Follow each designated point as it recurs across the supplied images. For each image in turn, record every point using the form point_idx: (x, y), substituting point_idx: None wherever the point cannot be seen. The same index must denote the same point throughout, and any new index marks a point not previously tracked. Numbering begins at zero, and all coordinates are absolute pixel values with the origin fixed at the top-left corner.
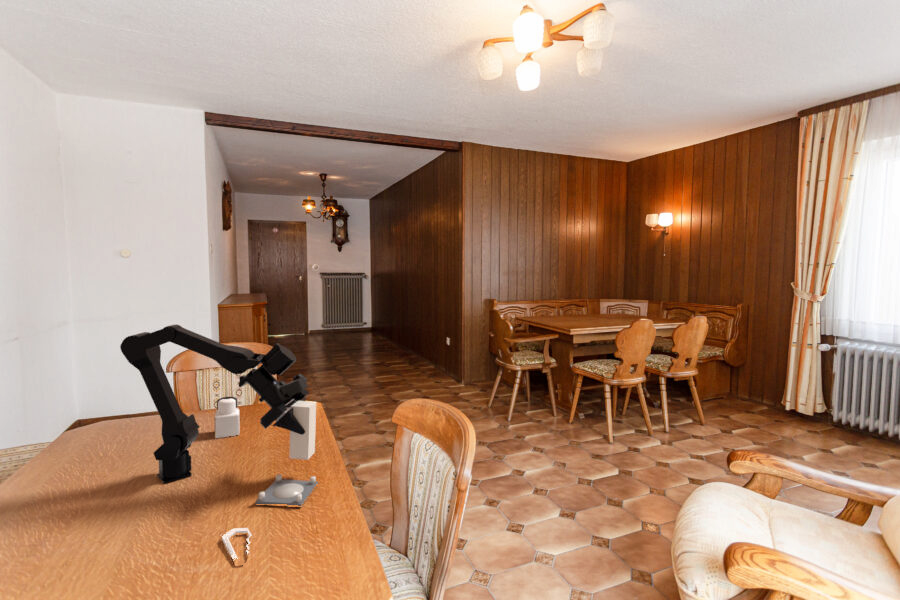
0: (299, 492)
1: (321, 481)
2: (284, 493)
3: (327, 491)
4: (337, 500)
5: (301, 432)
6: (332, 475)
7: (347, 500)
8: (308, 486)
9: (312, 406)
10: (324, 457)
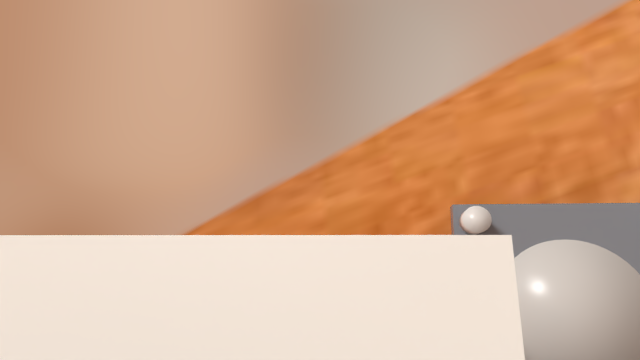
0: (581, 249)
1: (414, 205)
2: (609, 320)
3: (495, 150)
4: (561, 86)
5: None
6: (355, 179)
7: (552, 51)
8: (509, 229)
9: (241, 239)
10: None
